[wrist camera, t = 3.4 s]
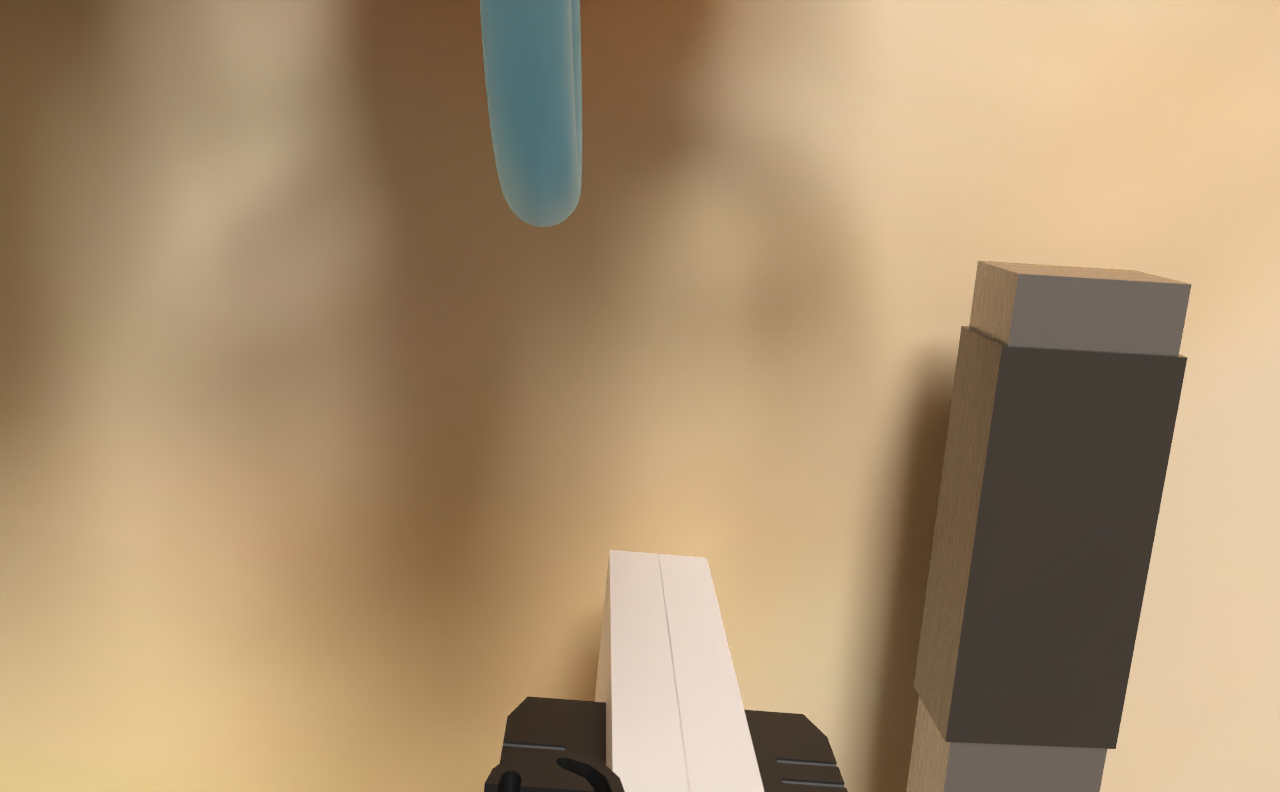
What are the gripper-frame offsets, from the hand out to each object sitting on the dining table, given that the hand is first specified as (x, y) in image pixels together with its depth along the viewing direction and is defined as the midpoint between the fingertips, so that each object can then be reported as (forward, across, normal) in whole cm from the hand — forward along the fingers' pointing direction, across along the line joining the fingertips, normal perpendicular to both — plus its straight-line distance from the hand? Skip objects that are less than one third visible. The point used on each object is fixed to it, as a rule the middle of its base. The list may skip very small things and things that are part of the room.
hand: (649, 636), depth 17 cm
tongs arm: (+1, +6, -4) cm, 7 cm away
